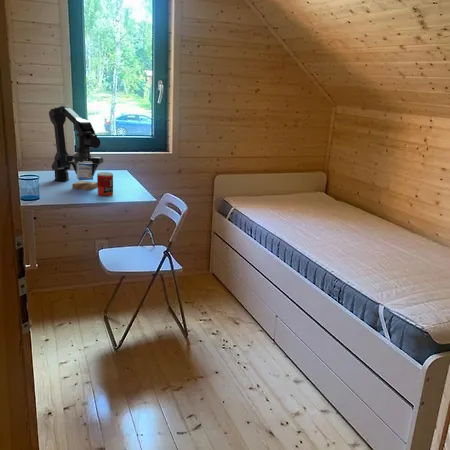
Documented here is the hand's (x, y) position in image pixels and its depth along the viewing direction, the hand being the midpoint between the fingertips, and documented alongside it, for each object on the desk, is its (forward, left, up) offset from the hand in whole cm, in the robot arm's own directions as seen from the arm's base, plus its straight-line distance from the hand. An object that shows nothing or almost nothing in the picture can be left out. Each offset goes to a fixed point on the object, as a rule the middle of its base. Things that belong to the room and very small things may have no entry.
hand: (84, 175), depth 255 cm
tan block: (0, 0, -7) cm, 7 cm away
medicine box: (0, 0, -2) cm, 2 cm away
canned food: (+16, -11, -7) cm, 21 cm away
